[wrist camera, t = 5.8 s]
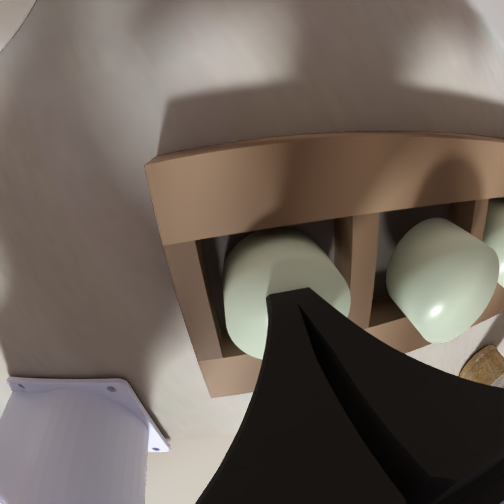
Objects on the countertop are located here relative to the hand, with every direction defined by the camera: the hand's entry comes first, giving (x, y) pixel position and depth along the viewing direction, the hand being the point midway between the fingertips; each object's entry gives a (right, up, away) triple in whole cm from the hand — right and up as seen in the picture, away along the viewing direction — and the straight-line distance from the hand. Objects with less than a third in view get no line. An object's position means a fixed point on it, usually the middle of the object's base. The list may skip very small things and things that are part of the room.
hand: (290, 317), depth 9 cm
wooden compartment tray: (+6, +2, +3) cm, 7 cm away
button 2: (0, +1, +2) cm, 2 cm away
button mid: (+6, +2, +1) cm, 6 cm away
